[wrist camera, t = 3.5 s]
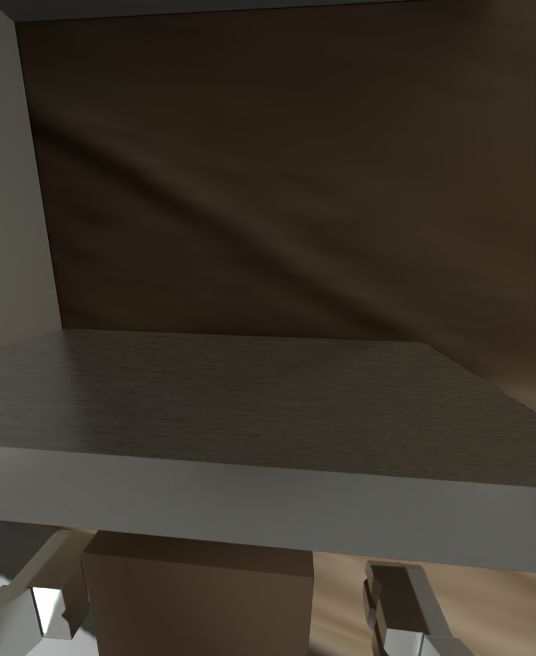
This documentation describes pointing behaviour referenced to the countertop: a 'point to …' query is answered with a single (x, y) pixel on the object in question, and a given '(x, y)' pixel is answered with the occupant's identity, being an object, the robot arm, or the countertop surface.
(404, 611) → the robot arm
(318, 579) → the countertop surface
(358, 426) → the light grey thin panel
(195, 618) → the tan block
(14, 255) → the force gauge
